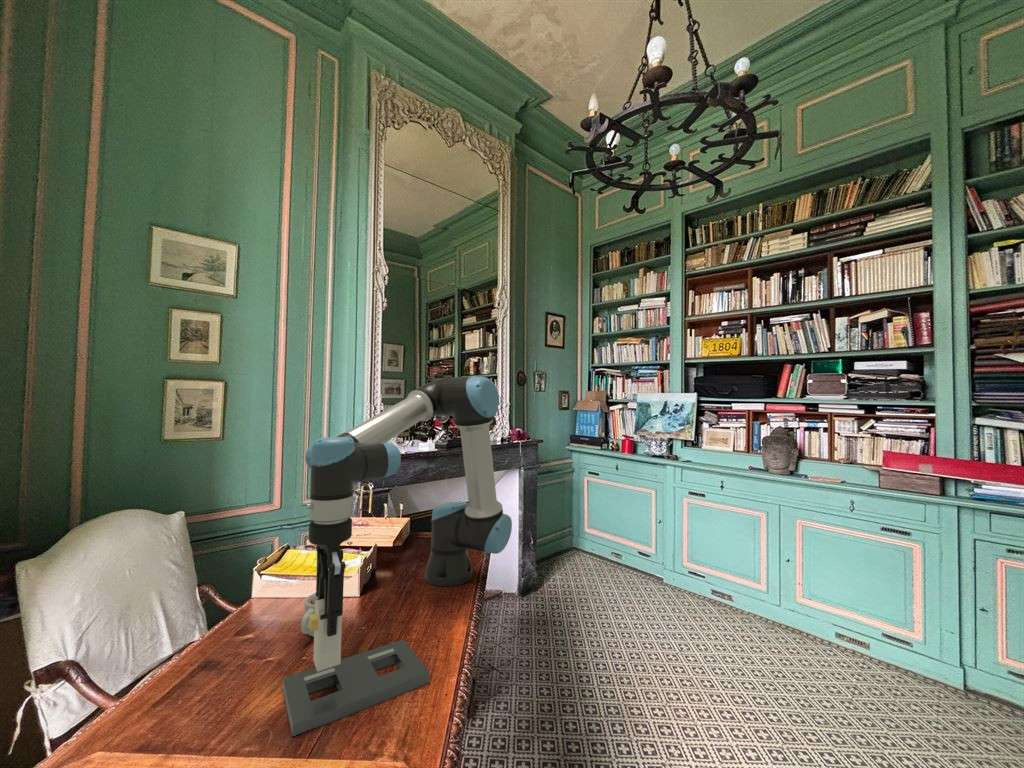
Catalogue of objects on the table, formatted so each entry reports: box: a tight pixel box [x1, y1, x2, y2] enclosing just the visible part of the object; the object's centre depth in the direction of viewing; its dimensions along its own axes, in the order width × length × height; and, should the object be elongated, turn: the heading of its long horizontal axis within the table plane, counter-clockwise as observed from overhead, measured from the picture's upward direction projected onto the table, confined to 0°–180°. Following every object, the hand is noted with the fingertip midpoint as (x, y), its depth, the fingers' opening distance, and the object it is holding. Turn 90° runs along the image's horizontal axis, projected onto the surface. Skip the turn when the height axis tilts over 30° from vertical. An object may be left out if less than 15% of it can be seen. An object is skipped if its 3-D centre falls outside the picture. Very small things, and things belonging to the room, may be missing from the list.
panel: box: [282, 638, 430, 738], centre depth 80 cm, size 24×14×2 cm, turn 125°
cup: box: [300, 592, 318, 638], centre depth 97 cm, size 11×8×8 cm
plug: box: [309, 599, 343, 672], centre depth 77 cm, size 5×4×11 cm
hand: (327, 644), depth 77 cm, fingers closed on plug, 4 cm apart
